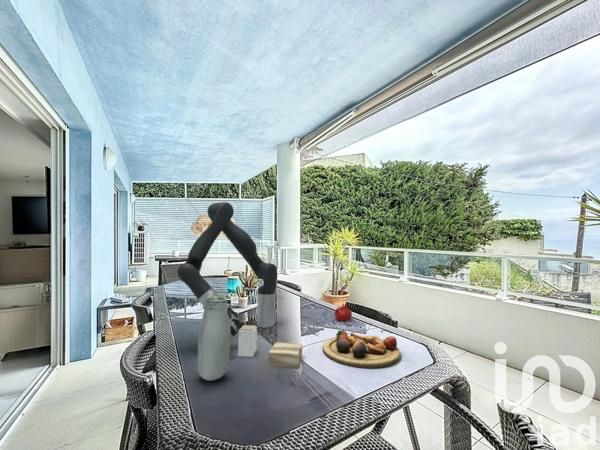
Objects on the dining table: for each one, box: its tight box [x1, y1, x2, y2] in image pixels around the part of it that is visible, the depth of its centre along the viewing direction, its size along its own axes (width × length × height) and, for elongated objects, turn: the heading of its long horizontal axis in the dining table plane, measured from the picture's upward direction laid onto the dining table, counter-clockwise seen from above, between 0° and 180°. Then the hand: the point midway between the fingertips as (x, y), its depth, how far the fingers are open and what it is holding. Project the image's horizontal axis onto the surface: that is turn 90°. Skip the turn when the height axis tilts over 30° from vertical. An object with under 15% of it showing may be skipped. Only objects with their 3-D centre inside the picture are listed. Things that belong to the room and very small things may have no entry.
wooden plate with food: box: [322, 329, 401, 369], centre depth 123 cm, size 32×32×8 cm
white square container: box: [237, 324, 258, 358], centre depth 119 cm, size 6×6×10 cm
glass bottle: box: [197, 293, 232, 382], centre depth 98 cm, size 10×10×28 cm
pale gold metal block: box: [267, 341, 303, 369], centre depth 113 cm, size 11×11×5 cm
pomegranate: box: [334, 303, 353, 322], centre depth 170 cm, size 10×10×9 cm
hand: (238, 331), depth 120 cm, fingers open, 8 cm apart
